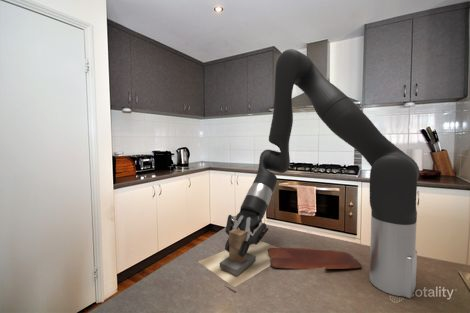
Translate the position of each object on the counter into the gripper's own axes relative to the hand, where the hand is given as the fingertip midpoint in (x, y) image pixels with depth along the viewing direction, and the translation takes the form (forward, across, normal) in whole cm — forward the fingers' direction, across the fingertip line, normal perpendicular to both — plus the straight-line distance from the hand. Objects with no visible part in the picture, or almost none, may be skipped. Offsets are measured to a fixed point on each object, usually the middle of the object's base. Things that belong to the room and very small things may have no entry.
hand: (233, 253), depth 62 cm
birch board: (-1, -1, +9) cm, 9 cm away
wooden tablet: (-9, +16, +17) cm, 25 cm away
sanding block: (+2, 0, +4) cm, 4 cm away
